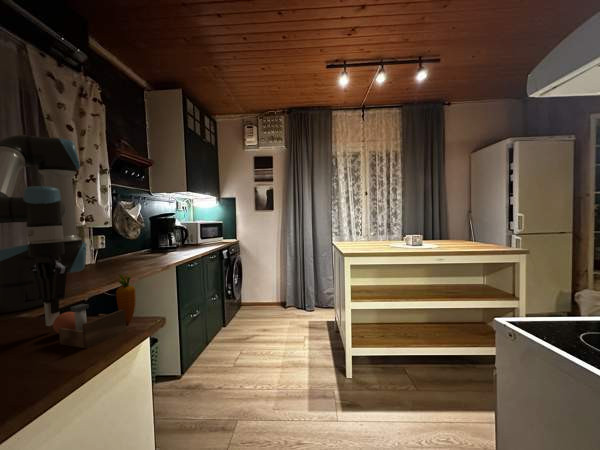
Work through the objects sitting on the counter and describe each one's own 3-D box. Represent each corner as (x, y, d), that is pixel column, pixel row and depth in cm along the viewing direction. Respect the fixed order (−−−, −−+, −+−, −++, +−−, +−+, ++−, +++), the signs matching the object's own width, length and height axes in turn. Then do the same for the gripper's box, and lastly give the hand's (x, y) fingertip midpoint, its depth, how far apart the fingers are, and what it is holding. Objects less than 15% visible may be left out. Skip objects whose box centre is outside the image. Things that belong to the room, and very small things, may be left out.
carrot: (140, 323, 82) (136, 273, 82) (120, 329, 79) (116, 277, 78) (135, 319, 86) (131, 271, 85) (116, 324, 82) (112, 274, 82)
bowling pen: (60, 344, 71) (58, 321, 71) (101, 327, 81) (99, 307, 81) (86, 348, 68) (84, 324, 67) (126, 330, 78) (124, 309, 78)
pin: (73, 336, 75) (70, 307, 75) (83, 332, 78) (81, 303, 77) (80, 337, 74) (77, 307, 74) (90, 333, 77) (88, 304, 76)
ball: (74, 307, 77) (81, 327, 76) (79, 308, 82) (86, 327, 81) (46, 317, 74) (53, 339, 73) (54, 318, 79) (61, 338, 78)
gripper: (15, 243, 77) (22, 327, 78) (45, 242, 73) (52, 331, 73) (47, 240, 84) (53, 317, 85) (76, 240, 80) (82, 320, 80)
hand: (53, 323), depth 79 cm, fingers closed
